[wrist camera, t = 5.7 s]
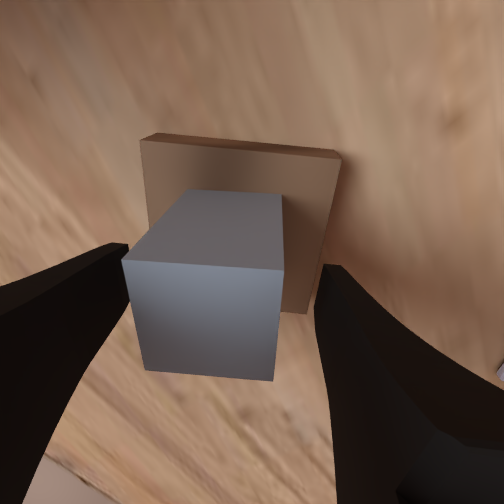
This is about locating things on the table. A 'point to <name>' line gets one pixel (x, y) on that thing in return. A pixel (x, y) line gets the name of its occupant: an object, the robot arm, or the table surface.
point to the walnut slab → (255, 181)
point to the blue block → (210, 285)
